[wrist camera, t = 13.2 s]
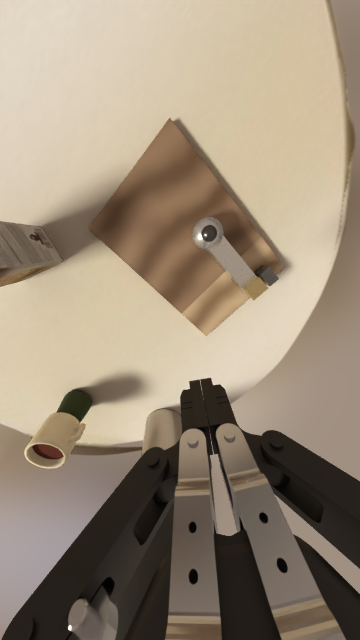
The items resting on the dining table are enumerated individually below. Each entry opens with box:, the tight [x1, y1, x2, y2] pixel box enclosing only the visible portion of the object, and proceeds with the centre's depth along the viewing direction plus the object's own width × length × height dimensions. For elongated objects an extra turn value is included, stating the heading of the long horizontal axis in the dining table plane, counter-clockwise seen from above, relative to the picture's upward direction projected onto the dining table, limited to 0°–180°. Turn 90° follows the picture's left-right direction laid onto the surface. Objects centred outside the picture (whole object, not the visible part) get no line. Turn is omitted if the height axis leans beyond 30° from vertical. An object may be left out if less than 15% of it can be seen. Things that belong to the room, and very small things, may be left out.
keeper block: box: [254, 265, 279, 286], centre depth 33 cm, size 3×2×3 cm, turn 46°
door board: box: [89, 118, 284, 336], centre depth 32 cm, size 28×19×1 cm
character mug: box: [25, 391, 92, 468], centre depth 39 cm, size 11×7×13 cm, turn 107°
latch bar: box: [191, 217, 268, 300], centre depth 30 cm, size 15×4×5 cm, turn 45°
